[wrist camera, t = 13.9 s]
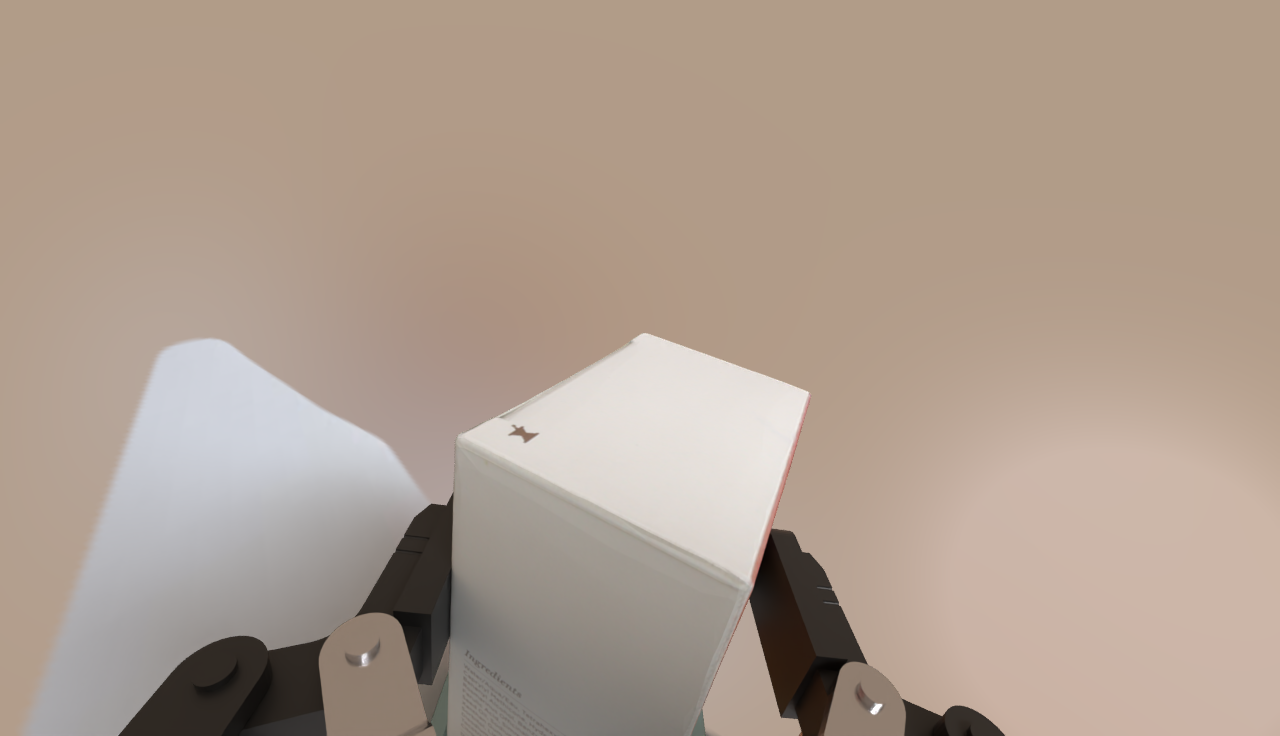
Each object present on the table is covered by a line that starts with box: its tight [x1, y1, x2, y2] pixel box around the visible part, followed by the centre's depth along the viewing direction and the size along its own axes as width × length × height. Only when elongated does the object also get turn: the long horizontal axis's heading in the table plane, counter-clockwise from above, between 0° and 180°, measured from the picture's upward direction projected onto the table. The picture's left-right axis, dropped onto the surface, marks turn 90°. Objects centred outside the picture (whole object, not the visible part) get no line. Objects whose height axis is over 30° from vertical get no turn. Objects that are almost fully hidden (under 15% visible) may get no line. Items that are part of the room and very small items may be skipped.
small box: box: [447, 333, 811, 736], centre depth 12 cm, size 8×6×10 cm
